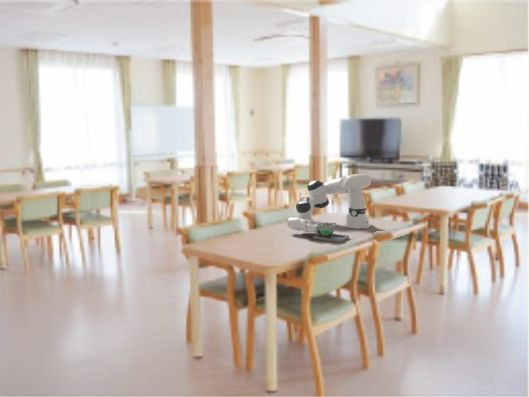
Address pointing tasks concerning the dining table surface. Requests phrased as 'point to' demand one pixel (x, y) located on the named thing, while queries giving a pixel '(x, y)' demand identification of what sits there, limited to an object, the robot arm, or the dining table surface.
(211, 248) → the dining table surface
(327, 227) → the food container
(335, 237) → the tray
